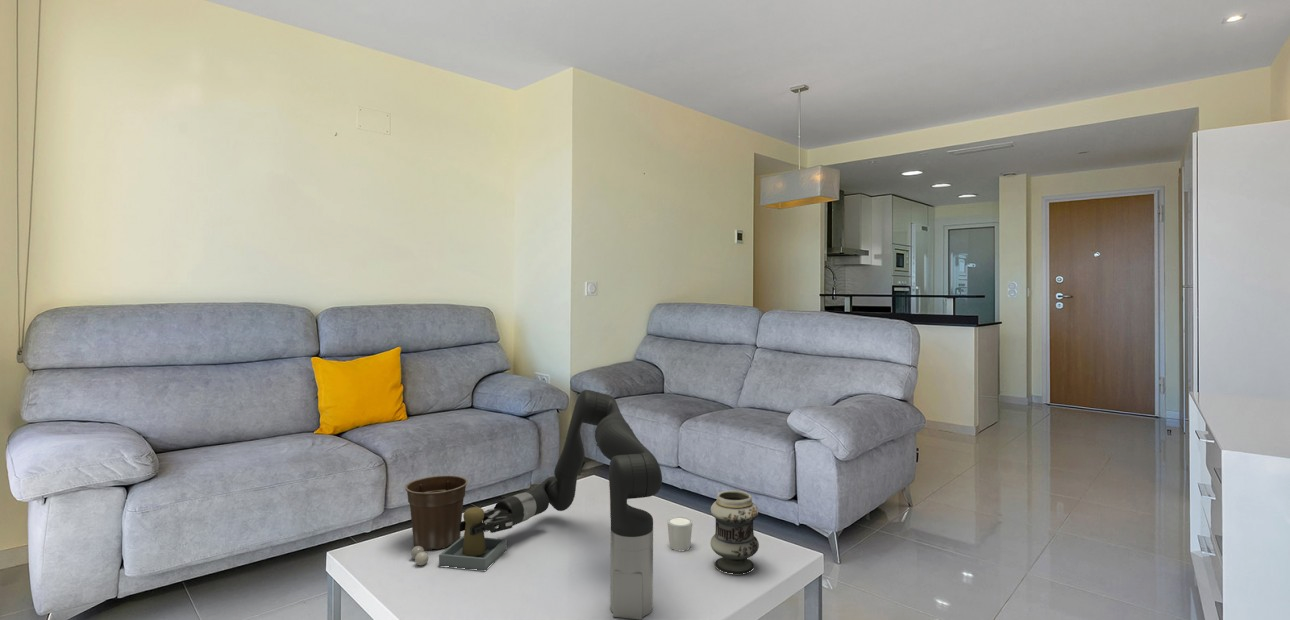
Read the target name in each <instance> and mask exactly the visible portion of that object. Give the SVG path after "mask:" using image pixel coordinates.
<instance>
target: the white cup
mask: <svg viewBox="0 0 1290 620" xmlns="http://www.w3.org/2000/svg"><path fill="white" fill-rule="evenodd" d="M667 530H668V531H667V532H668V533H667V534H668V543H669V546H668V547H669V549H670V550H672V549H674V550H673V551H675V550H678V551H677V552H680V551H679V550H686V551H688V550H689V549H688V548H690V549H691V544H692V542H691V540H692V533H693V532H692V531H693V520H692V519H690V518H688V517H683V516H676V517H671V518H669V519H667ZM687 549H688V550H687Z"/></svg>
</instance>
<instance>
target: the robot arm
mask: <svg viewBox="0 0 1290 620" xmlns="http://www.w3.org/2000/svg"><path fill="white" fill-rule="evenodd" d="M572 410H573V411H572V415H571V418H570V420H569V424H568V425H569V426H568V429H567V433H566V438H565V441H564V444H563V445H564V446H562V447H563V448H562V451H561V453H560V456H559V457H558V460H557V463H556V465H555V468H554V471H553V473H554V476H549V477H547V478H546V479H545V480H543V481H542V482H541V483H540V484H539V485H538V486H536V487H534V488H533V489H531V490H528V491H525V492H521V493H517V494H514V495H512V496H509V497H506V498H504V499H501V500H498V501H497V502H496V504H495V506H494V507H493V508H489V509H486V510H483V511H484V519H483V520H482V522H481V523H479V524H476V525H474V526H471V527H470V535H472V536H474V535H476V534H479V533H481V532H483V531H484V533H487V532H489V533H490V534H493V533H497V532H500V531H505V530H510V529H513V527H514V526H516V525H518V524H520V523H523V522H525V521H528V520H529V519H531V518H533V517H535V516H538V515H540V514H542V513H543V512H546V511H547V510H548V508H549V505H551V507H553V509H555V510H556V511H558V512H564V511H566V510H568V509H569V508H570V507H571V505H573V502H574V500H575V497H576V496H575V495H576V489H577V483H578V482H577V479H578V476H579V473H580V471H581V470H582V466H583V464H584V461H585V447H584V444H583V441H582V436H581V435H582V434H581V429H582V424H587V425H593V426H596V428H595V430H594V440H595V442H596V444H597V447H598V448H599V451H600V452H601V454H602V455H603V456H604V457H605V458H606V459H608V460H609V461H610V462H609V467H608V483H609V485H608V486H609V515H610V516H609V517H610V551H609V552H610V554H609V558H610V567H609V568H610V570H609V571H610V572H609V574H610V577H609V581H610V582H609V590H610V591H609V593H610V599H609V600H610V601H609V602H610V603H609V608H610V612H611V613H612V617H614V618H623V619H633V620H642V619H643V617H645V616H648V615H649V614H651V612H652V611H653V608H654V607H653V606H654V605H653V604H654V603H653V602H654V589H653V588H654V582H653V581H654V579H653V578H654V566H653V565H654V518H653V515H652V514H651V513H649V512H648V511H646V510H644V509H642V508H637V507H634V506H631V505H629V504H628V500H631V499H641V498H642V499H643V498H650V497H653V496H655V495H657V494H658V493H659V492H660V490H661V488H662V485H663V483H662V482H663V474H662V470H661V467H660V464H659V462H658V459H656V457H655V456H654V454H653V453H652V452H651V451H650V450H649V449H648V448H647V447H645V445H644V444H643V443H642V442H641V441H640V439H638V437H637V436H636V434H635V433H634V431H633V429H632V428H631V426H630V425H629V424H628V422H627V420H625V418H624V416H623V414H622V413H621V410H620V408H619V404H618V403H617V400H616V399H615V397H613V396H612V395H610V394H608V393H602V392H599V391H595V390H590V389H584V390H582V391H581V392H580V394H579V395H578V397H577V399H576V402H575V404H574V407H573V409H572ZM465 524H466V522H465V521H464V520H463V521H461V522H459V524H458V531H461V532H465Z"/></svg>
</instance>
